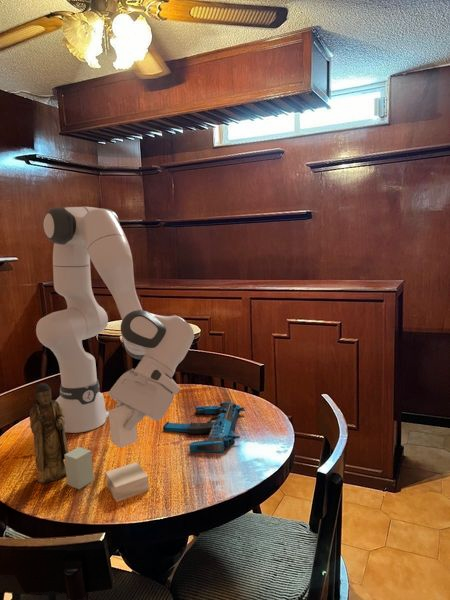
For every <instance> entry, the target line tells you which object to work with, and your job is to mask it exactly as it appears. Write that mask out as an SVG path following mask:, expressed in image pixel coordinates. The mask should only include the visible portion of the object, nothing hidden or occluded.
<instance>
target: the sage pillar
mask: <svg viewBox="0 0 450 600" xmlns="http://www.w3.org/2000/svg"><path fill="white" fill-rule="evenodd" d="M64 457H65V459H64V464H65V467H66V484H67V485H68V486H69V487H72V488H74V489H76V490H81V489H83V488H84V487H86V486H87V485H90V483H92V482H93V481H94V479H95V478H94V469H93V459H92V458H93V457H92V451H91V450H89V449H86V448H83V447H81V446H78V447H76V448H74V449H72V450H70V451H68V453H67V454H65V455H64Z"/></svg>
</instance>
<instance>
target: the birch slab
mask: <svg viewBox="0 0 450 600" xmlns="http://www.w3.org/2000/svg"><path fill="white" fill-rule="evenodd" d="M104 473H105V481H106V483H105V484H106V487H107V489H108V491H109V493H110V494H111V496H112V497H113V499H114V500H115V502H116V503H118V502H121V501H123V500H127V499H129V498H132V497H134V496H137V495H138V496H139V495H140V494H143V493H146V492H149V491H150V486H149V476H148V474H147V473H146V472H145V471H144V469H143V468H142V467H141V466H140V464H139V463H138V462H132V463H129V464H126V465H122V466H120V467H116V468H114V469H111V470H107V471H105V472H104Z"/></svg>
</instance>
